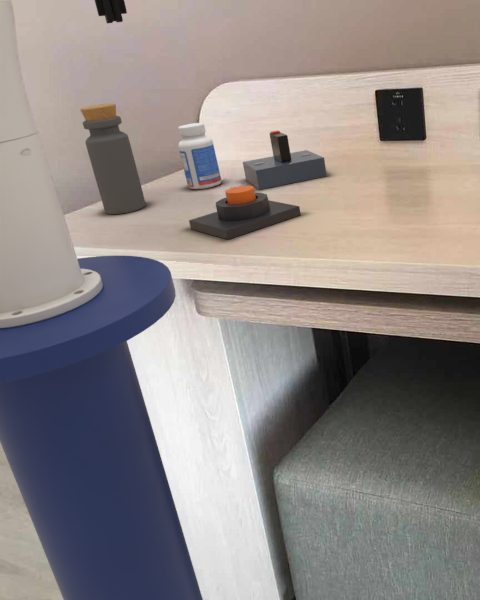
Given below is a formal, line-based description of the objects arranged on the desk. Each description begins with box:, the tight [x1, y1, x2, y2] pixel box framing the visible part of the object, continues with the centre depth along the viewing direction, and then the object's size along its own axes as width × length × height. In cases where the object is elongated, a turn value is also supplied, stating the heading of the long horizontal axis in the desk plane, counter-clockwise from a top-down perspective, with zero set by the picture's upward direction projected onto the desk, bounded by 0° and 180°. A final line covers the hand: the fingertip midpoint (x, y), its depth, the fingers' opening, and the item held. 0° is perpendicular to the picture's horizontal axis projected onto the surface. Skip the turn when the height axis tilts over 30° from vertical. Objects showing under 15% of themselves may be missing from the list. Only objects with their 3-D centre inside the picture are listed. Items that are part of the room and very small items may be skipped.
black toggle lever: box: [269, 129, 291, 162], centre depth 108 cm, size 5×2×4 cm, turn 25°
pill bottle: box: [177, 122, 222, 190], centre depth 109 cm, size 6×5×10 cm
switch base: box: [188, 192, 301, 240], centre depth 87 cm, size 11×9×3 cm
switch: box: [224, 185, 256, 204], centre depth 86 cm, size 4×4×2 cm
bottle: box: [79, 102, 147, 215], centre depth 99 cm, size 6×6×15 cm
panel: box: [242, 149, 328, 191], centre depth 109 cm, size 11×9×3 cm
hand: (114, 21), depth 77 cm, fingers closed
